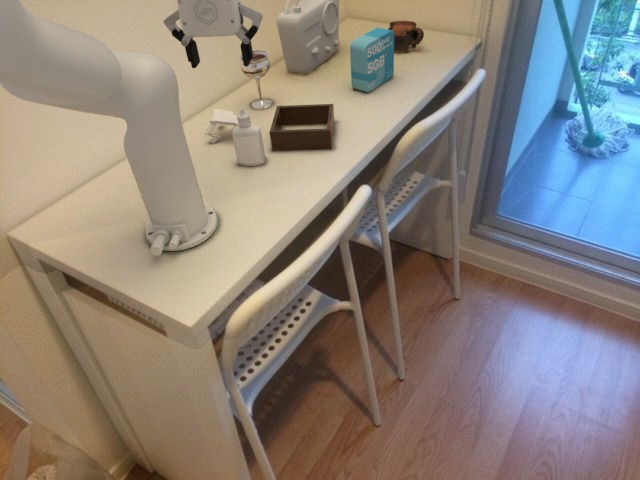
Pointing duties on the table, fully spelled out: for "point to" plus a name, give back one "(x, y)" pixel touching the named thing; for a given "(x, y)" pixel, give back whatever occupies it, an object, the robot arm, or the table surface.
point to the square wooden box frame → (302, 137)
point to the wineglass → (257, 74)
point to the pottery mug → (405, 35)
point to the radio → (308, 33)
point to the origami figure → (221, 121)
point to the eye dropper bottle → (248, 141)
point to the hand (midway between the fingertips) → (221, 64)
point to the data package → (372, 59)
